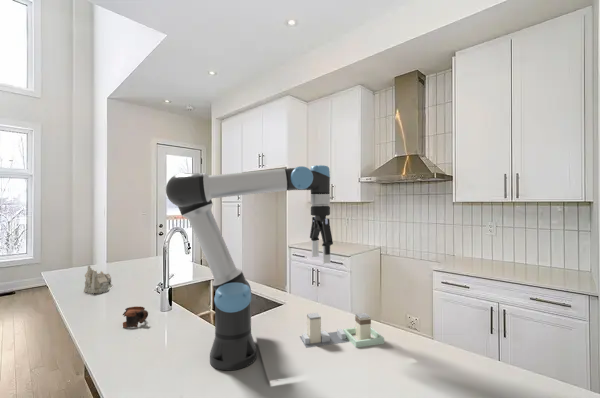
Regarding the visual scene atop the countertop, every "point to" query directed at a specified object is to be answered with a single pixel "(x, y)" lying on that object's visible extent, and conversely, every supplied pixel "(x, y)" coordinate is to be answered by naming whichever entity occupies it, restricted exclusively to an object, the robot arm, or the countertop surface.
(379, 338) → the tray
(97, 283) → the ceramic cottage
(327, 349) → the countertop surface
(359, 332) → the block
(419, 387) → the countertop surface
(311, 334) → the block
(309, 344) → the block
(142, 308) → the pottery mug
